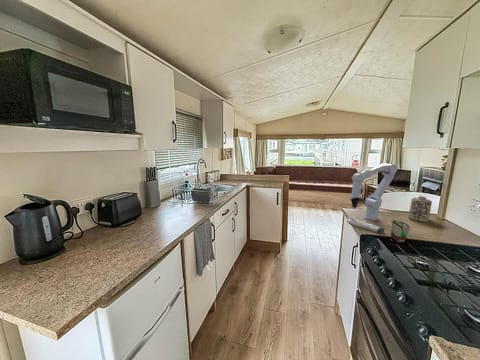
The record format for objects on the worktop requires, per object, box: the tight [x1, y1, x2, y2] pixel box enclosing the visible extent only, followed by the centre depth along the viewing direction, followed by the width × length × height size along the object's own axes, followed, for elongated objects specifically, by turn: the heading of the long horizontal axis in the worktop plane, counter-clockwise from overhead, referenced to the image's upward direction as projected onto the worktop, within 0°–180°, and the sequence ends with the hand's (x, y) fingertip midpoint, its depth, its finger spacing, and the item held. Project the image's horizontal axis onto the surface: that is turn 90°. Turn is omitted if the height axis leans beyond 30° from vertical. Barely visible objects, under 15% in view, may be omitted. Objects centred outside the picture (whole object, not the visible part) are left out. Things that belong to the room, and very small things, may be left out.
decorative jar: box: [408, 195, 433, 223], centre depth 159 cm, size 12×12×18 cm
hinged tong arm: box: [349, 217, 385, 234], centre depth 141 cm, size 22×2×3 cm, turn 34°
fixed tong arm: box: [346, 218, 383, 235], centre depth 139 cm, size 2×22×3 cm, turn 32°
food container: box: [390, 219, 411, 244], centre depth 122 cm, size 12×6×10 cm, turn 168°
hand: (354, 207), depth 154 cm, fingers closed
